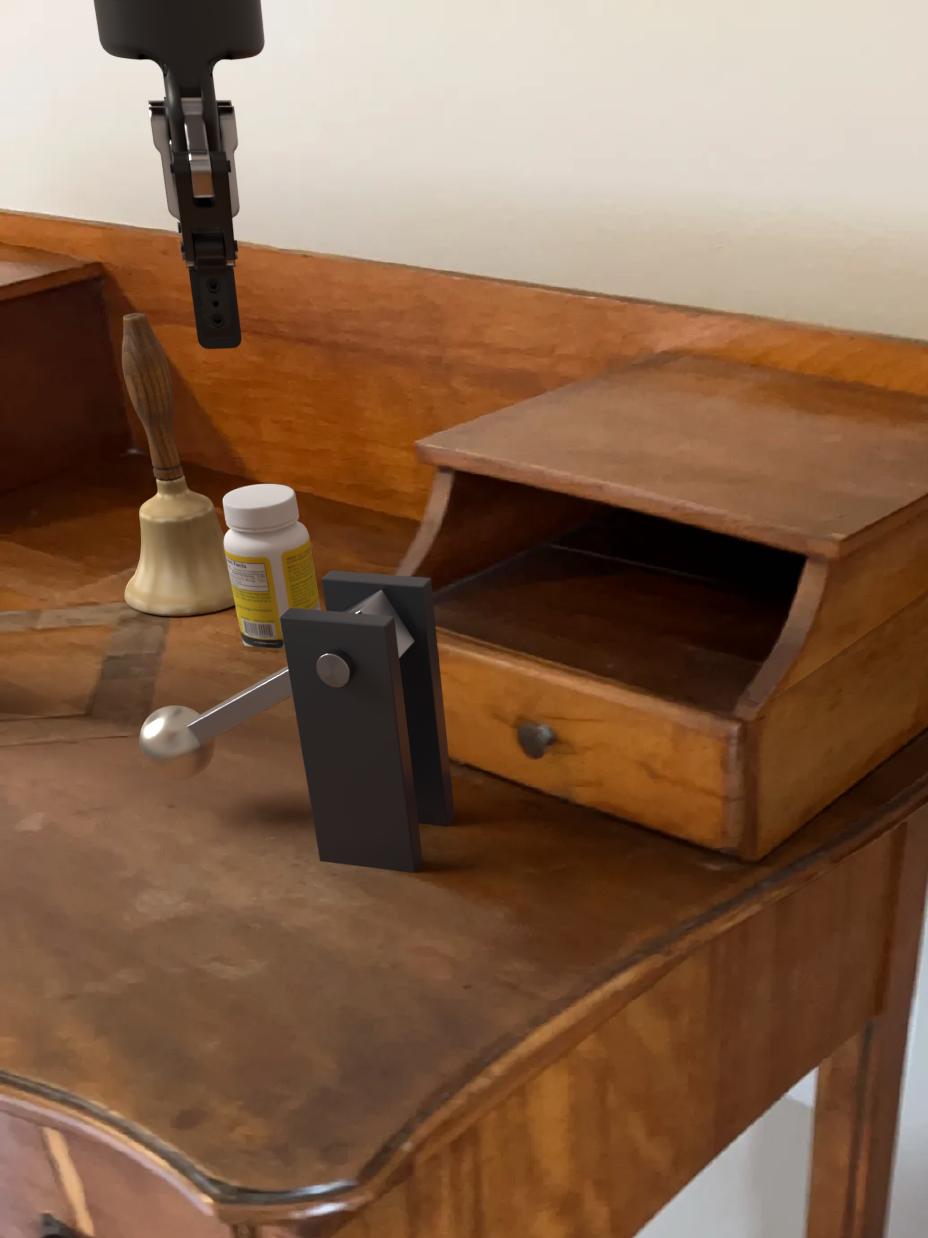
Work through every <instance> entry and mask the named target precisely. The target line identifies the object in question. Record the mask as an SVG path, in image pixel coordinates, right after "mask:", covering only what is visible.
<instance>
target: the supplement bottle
mask: <svg viewBox="0 0 928 1238" xmlns="http://www.w3.org/2000/svg"><path fill="white" fill-rule="evenodd" d="M222 506H223V515H224V519H225V524H226V527H228V528H229V529H228V530H227V532H226V533H225V534H224V550H225V555H226V560H227V565H228V570H229V575H230V581H231V586H232V591H233V596H234V601H235V605H234V606H235V612H236V616H237V621H238V626H239V631H240V637H241V641H242V644H243V645H244V646H245V647H256V648H265V649H266V648H267V649H276V650H285V647H284V641H283V635H282V629H281V622H280V616H282V615H283V614H284V613H285V612H286V611H287V610H288V609H289V608H299V609H311V610H322V609H321V601H320V596H319V588H318V582H317V576H316V569H315V564H314V557H313V552H312V551H313V550H312V545H311V537H310V534H309V530H308V529H307V528H306V526H305V525H304V524H303V523H302V522H300V521H298V520H299V518H300V511H299V506H298V501H297V496H296V492H295V490H294V489H293V488H292V487H290V486H288V485H284V484H277V483H258V484H251V485H245V486H240V487H238V488H236V489H233V490H230V491H229V492H227V493H225V495H224V496H223V498H222Z"/></svg>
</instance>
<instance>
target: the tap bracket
mask: <svg viewBox="0 0 928 1238" xmlns="http://www.w3.org/2000/svg"><path fill="white" fill-rule="evenodd" d="M321 585H322V593H323V599H324V606H325V610H322V609H321V610H311V609H299V608H289V609H288V610H287V611H286V612H285V613H284V614H283V615H282V616H280V622H281V629H282V635H283V641H284V647H285V649H284V653H285V656H286V657H285V658H286V663H287V664H286V666H288V671H289V677H290V683H291V689H292V695H293V696H292V699H293V707H294V712H295V718H296V725H297V730H298V736H299V737H298V738H299V743H300V750H301V755H302V761H303V767H304V773H305V779H306V785H307V790H308V799H309V803H310V810H311V815H312V822H313V827H314V833H315V840H316V847H317V851H318V857H319V861H320V862H324V863H331V864H339V865H340V864H341V865H346V866H347V865H348V866H355V867H363V868H364V867H365V868H373V869H381V870H387V871H388V870H389V871H396V872H405V873H412V874H415V873H417V871H418V870H419V868H420V867H421V866H422V864H423V863H424V859H423V850H422V842H421V841H422V840H421V834H420V826H419V825H429V826H436V827H446V828H447V827H449V825H450V824H451V822H453V820H454V818H455V817H456V816H455V806H454V795H453V787H452V785H453V784H452V775H451V765H450V756H449V755H450V754H449V746H448V736H447V726H446V725H447V724H446V715H445V705H444V695H443V686H442V676H441V667H440V666H441V665H440V654H439V646H438V645H439V644H438V636H437V626H436V614H435V605H434V595H433V586H432V578H431V577H422V576H409V575H397V574H382V573H370V572H357V571H346V570H345V571H343V570H330V571H328V573H326V574H325V575H324V576H323V577H322V578H321ZM380 590H382V591H383V593H384V594H385V596H386V597H387V599H388V600H389V602H390V604H391V605H392V607H393V608H394V610H395V611H396V613H397V614H398V616H399V617H400V619H401V621H402V622H403V624H404V625H405V627H406V628H407V630H408V631H409V633H410V634H411V636H412V638H413V639H414V643H413V644H412V645H411V646H410V647H409V648H408V649H407V650H406V652H405V653H404V654H403V655H402V656H401V657H400V658H399V653H398V644H397V636H396V627H395V619H394V617H393V616H383V615H371V614H359V613H347V612H343V611H345V610H346V609H348V608H350V607H352V606H353V605H355V604H357V603H359V602H360V601H362V600H364V599H366V598H367V597H369V596H371V595H373V594H374V593H376V592H378V591H380Z"/></svg>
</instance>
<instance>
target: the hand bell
mask: <svg viewBox="0 0 928 1238" xmlns="http://www.w3.org/2000/svg"><path fill="white" fill-rule="evenodd" d="M122 323H123V325H122V326H123V332H122V345H121V365H122V366H121V367H122V372H123V378H124V381H125V385H126V390H127V393H128V395H129V398H130V401H131V403H132V406H133V408H134V410H135V413H136V414H137V417H138V418H139V421H140V422H141V423H142V426H143V429H144V431H145V434H146V437H147V443H148V447H149V452H150V459H151V463H152V466H153V468H152V472H153V476H154V477H155V478H156V480H155V481H156V487H157V492H156V494H155V495H153V496H152V497H151V498H149V499H148V500H146V501H144V503H142V505H141V506H140V508H139V513H138V517H139V524H140V526H139V527H140V556H139V561H138V564H137V567H136V570H135V573H134V574H133V576H132V577H131V578H130V579H129V580H128V582H127V585H126V586H125V590H124V594H123V596H124V597H123V598H124V600H125V603H126V604H127V605H128V606H129V607H131V608H132V609H134V610H136V611H137V612H140V613H145V614H148V615H154V616H162V617H190V616H198V615H204V614H209V613H215V612H219V611H222V610H226V609H228V608H232V607H234V606H235V601H234V596H233V591H232V586H231V581H230V575H229V570H228V565H227V560H226V555H225V550H224V537H225V534H224V533H223V529H222V527H221V524H220V522H219V519H218V516H217V512H216V509H215V506H214V503H213V501H212V500H211V498H209V497H208V496H206V495H204V494H202V493H197V492H195V491H192V490H191V489H190V488H189V487H188V485H187V481H186V477H185V475H184V470H183V466H182V465H181V459H180V456H179V455H180V454H179V450H178V447H177V444H176V439H175V434H174V425H173V416H174V389H173V381H172V376H171V375H172V374H171V371H170V366H169V362H168V359H167V357H166V353H165V352H164V350H163V348H162V347H163V346H161V343H160V341H159V339H158V338H157V336H156V334H155V333H154V331H153V329H152V327H151V324H150V322H149V320H148V317H147V314H146V313H142V312H132V313H128V314H125V315H123V317H122Z"/></svg>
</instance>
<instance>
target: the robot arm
mask: <svg viewBox="0 0 928 1238" xmlns="http://www.w3.org/2000/svg"><path fill="white" fill-rule="evenodd" d="M93 6H94V12H95V13H94V14H95V18H96V26H97V34H98V37H99V39H98V40H99V43H100V45H101V47H102V49H103V50H104V52H106V53H107V54H108V55H110V56H113V57H116V58H120V59H125V60H135V61H144V60H146V61H147V60H148V61H152V62H154V63H155V64H156V65H158V67H159V68H160V70H161V73H162V79H163V87H164V94H165V96H163V100H160V99H158V100H155V99H154V100H152V99H151V100H148V112H149V121H150V126H151V134H152V142H153V145H154V147H155V149H156V150H157V151H158V153H159V155H160V161H161V167H162V176H163V181H164V189H165V197H166V202H167V203H166V205H167V210H168V213H169V214H170V215H171V216H172V217H173V218H175V219H177V220H178V221H177V222H176V223H177V225H176V226H177V231H178V234H181V239H182V241H179V246H180V254H181V260H182V261H185V268H186V269H188V275H189V283H190V290H191V291H190V292H191V299H192V306H193V307H192V308H193V314H194V321H195V329H196V337H197V341H198V344H199V345H200V346H201V347H202V348H203V349H206V350H221V349H236V348H238V347H239V346H240V345H241V344H242V331H241V321H240V312H239V303H238V295H237V286H236V279H235V277H236V276H235V268H236V267H237V266H236V265H237V264H236V261H237V260H238V259H239V256H238V252H239V246H238V240H236V239H235V233H234V232H235V231H234V220H233V219H234V218H235V217H236V216H237V215H238V214H239V212H240V208H241V207H240V197H239V189H238V188H239V187H238V179H237V178H238V177H237V170H236V169H237V168H236V160H235V151H236V150H237V148H238V146H239V139H238V127H237V119H236V110H235V106H234V105H232V99H217V97H216V89H215V88H216V87H215V82H214V81H215V80H214V68H215V66H216V65H217V63H218V62H221V61H224V60H225V61H235V60H245V59H251V58H254V57H257V56H259V55H260V54H261V53H262V51H263V50H264V47H265V44H266V43H265V42H266V41H265V31H264V19H263V11H262V0H93Z"/></svg>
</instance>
